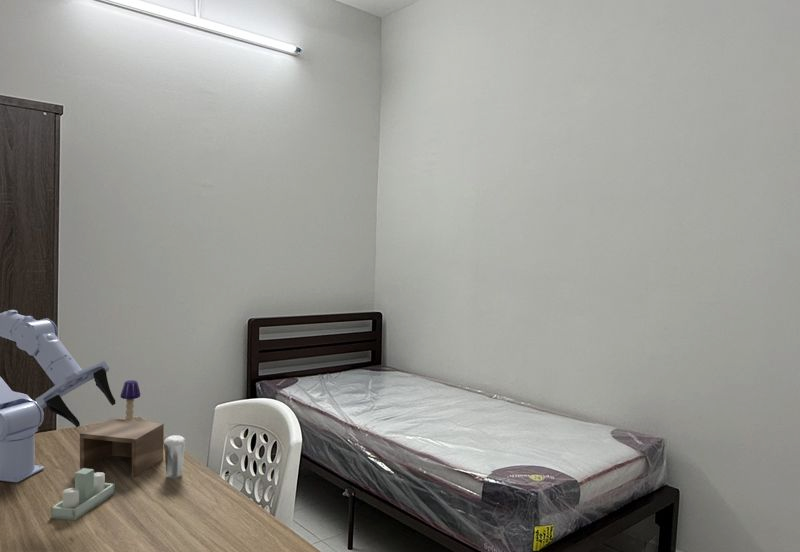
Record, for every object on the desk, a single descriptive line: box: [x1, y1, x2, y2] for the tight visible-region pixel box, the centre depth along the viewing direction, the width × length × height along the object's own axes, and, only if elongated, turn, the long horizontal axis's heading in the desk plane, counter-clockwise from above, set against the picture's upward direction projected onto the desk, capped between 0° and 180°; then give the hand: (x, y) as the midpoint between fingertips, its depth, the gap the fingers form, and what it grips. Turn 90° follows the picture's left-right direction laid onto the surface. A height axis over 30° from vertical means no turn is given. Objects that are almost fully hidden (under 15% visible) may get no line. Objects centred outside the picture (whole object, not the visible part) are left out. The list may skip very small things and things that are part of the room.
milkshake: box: [163, 433, 188, 479], centre depth 132 cm, size 5×5×10 cm
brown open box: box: [79, 418, 165, 478], centre depth 137 cm, size 14×11×9 cm
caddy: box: [50, 468, 116, 522], centre depth 117 cm, size 5×12×7 cm, turn 171°
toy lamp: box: [120, 379, 141, 421], centre depth 149 cm, size 5×5×17 cm
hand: (96, 413), depth 121 cm, fingers open, 7 cm apart
